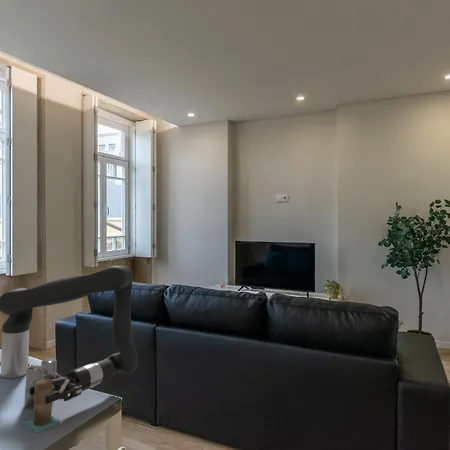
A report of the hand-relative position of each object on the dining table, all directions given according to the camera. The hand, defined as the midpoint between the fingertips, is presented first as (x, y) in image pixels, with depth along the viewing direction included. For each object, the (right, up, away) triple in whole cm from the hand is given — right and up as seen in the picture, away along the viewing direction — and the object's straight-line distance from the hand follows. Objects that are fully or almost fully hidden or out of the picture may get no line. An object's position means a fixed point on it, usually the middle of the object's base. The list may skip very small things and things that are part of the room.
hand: (37, 395), depth 109 cm
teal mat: (+1, -9, +2) cm, 9 cm away
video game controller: (-9, -9, +28) cm, 31 cm away
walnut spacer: (+1, -9, +2) cm, 9 cm away
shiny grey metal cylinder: (-6, -9, +19) cm, 21 cm away
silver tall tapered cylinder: (-8, -9, +12) cm, 17 cm away
